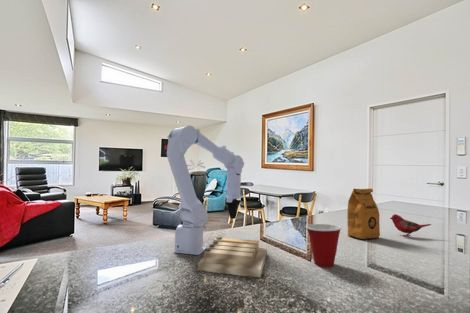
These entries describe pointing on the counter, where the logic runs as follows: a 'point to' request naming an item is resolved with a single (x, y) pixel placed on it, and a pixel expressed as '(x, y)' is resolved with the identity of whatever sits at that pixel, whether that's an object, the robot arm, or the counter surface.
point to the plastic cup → (324, 243)
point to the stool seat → (233, 259)
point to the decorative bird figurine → (406, 225)
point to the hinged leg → (238, 241)
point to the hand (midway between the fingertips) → (232, 218)
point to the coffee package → (363, 215)
